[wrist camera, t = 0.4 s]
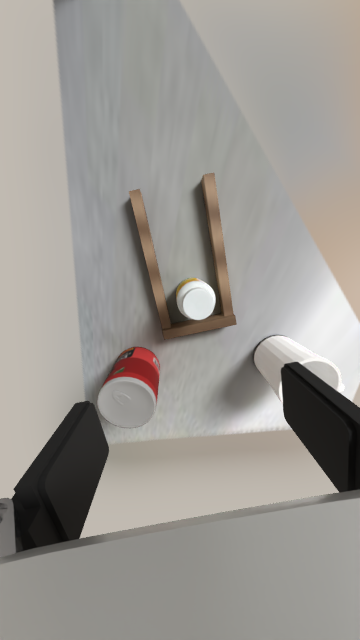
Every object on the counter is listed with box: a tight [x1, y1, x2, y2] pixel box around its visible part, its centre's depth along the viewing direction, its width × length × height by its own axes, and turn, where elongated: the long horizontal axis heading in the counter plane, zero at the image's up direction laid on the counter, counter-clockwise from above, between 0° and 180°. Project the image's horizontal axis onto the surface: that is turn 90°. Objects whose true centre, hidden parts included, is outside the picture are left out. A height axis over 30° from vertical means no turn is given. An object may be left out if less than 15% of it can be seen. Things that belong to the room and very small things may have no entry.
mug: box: [253, 335, 345, 404], centre depth 33 cm, size 11×9×10 cm
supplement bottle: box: [176, 278, 216, 320], centre depth 29 cm, size 5×5×10 cm
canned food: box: [97, 347, 160, 428], centre depth 32 cm, size 8×8×11 cm
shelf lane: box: [129, 173, 236, 340], centre depth 31 cm, size 22×12×3 cm, turn 12°
